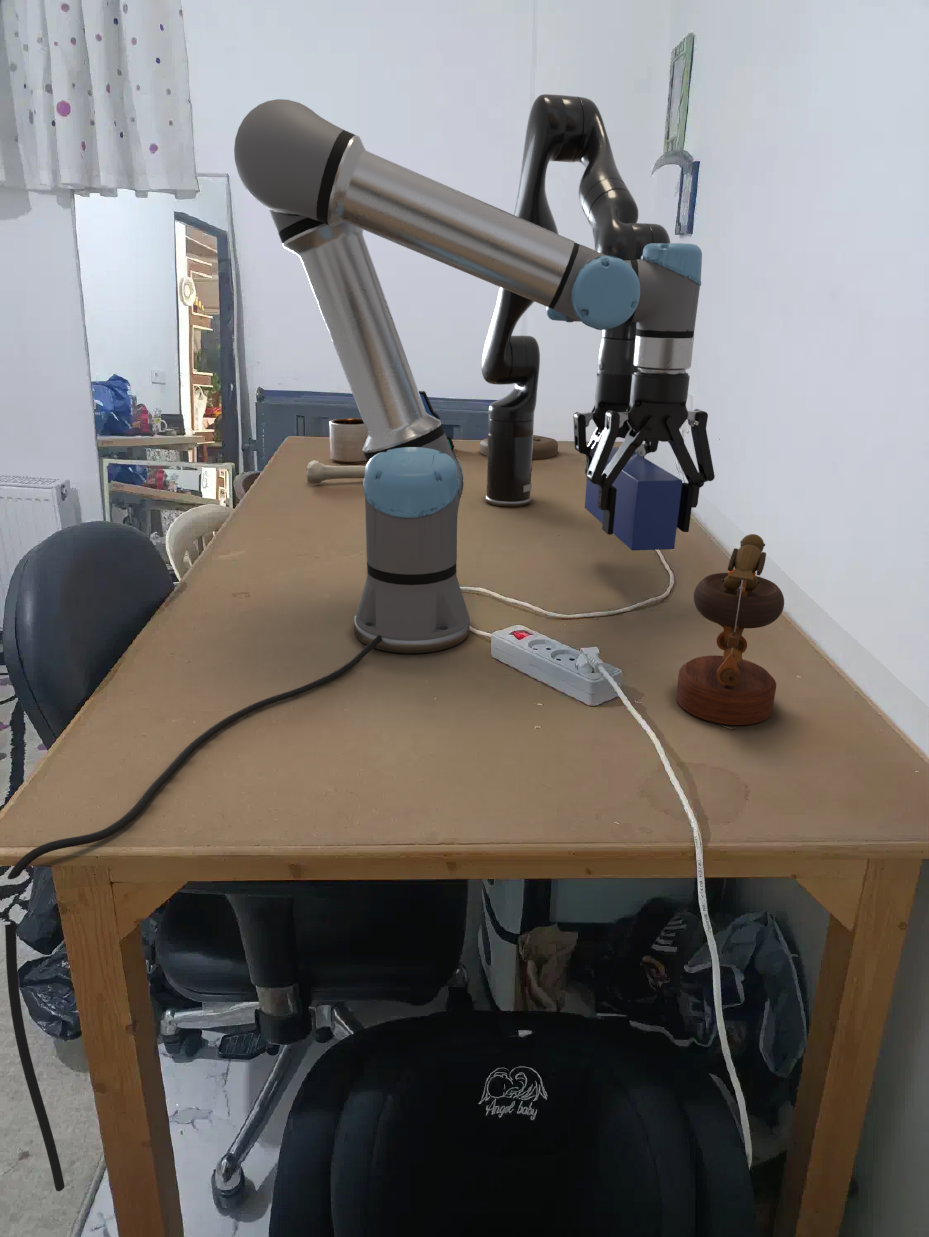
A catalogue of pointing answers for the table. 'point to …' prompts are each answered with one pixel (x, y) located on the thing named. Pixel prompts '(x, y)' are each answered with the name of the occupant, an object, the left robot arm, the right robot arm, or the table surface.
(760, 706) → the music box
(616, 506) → the box
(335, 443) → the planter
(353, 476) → the dog toy
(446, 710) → the table surface
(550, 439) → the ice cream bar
